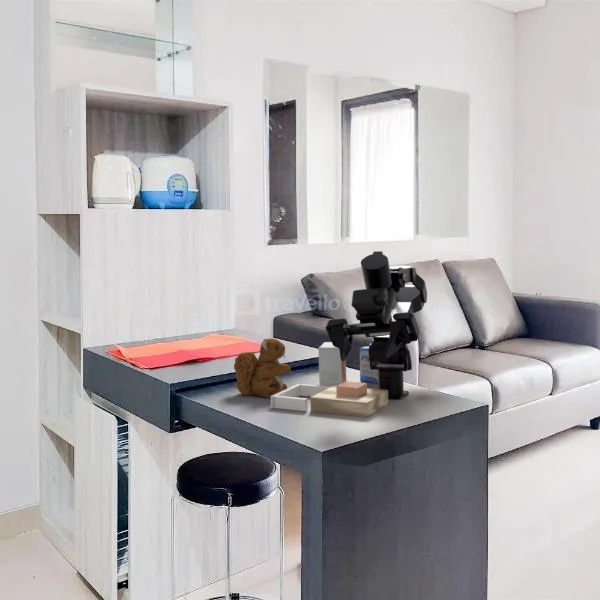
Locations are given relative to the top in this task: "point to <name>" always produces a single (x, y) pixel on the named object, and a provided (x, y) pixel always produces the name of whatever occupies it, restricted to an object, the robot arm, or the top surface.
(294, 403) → the box
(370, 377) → the medicine box
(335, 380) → the small box
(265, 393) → the stuffed squirrel
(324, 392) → the plate
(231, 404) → the top surface
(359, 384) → the tile
